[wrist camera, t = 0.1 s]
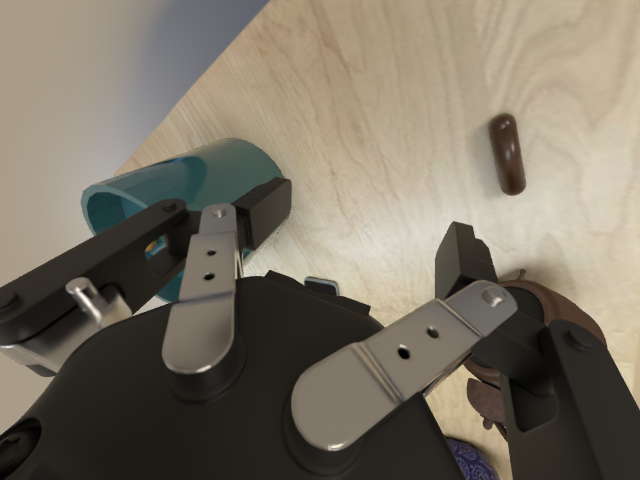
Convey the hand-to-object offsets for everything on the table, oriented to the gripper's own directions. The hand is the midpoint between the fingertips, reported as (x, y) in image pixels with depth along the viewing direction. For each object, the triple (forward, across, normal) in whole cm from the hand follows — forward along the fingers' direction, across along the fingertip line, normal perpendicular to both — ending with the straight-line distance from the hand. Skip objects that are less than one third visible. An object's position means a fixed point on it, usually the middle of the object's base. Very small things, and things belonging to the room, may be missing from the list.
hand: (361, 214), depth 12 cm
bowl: (+23, +24, +15) cm, 37 cm away
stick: (+23, -12, +1) cm, 25 cm away
